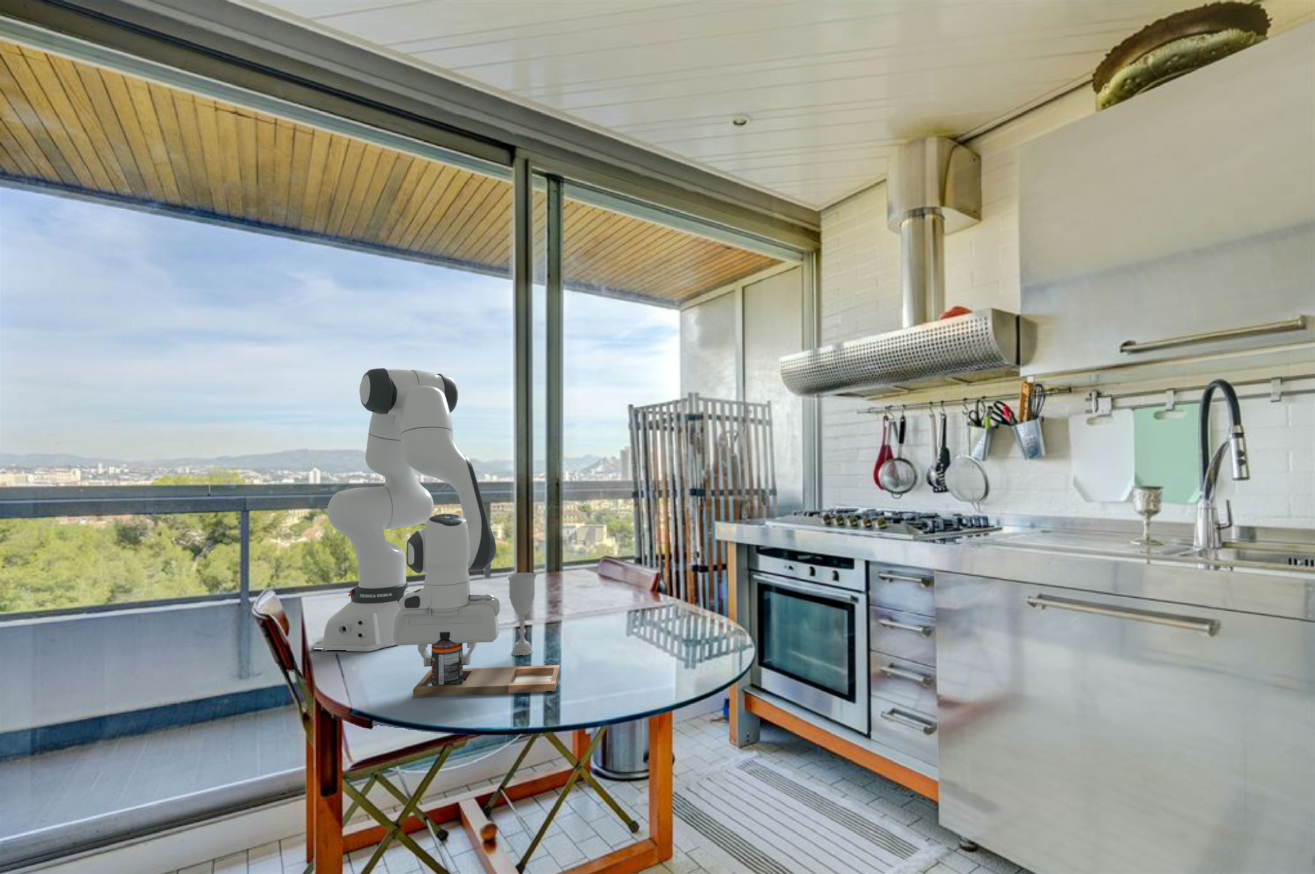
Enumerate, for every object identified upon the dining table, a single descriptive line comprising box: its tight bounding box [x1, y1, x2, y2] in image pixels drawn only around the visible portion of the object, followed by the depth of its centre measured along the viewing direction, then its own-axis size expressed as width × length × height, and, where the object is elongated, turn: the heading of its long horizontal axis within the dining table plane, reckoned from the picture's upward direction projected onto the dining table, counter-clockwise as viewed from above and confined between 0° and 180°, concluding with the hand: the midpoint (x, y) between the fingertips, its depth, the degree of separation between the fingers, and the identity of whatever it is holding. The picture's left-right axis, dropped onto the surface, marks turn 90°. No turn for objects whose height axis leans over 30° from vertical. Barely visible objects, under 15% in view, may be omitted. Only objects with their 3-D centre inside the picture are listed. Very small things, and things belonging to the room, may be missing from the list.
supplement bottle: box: [431, 632, 464, 686], centre depth 124 cm, size 6×6×11 cm
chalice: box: [506, 572, 538, 657], centre depth 145 cm, size 7×7×18 cm
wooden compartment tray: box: [412, 664, 561, 698], centre depth 124 cm, size 27×11×2 cm, turn 94°
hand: (447, 665), depth 124 cm, fingers closed on supplement bottle, 6 cm apart
